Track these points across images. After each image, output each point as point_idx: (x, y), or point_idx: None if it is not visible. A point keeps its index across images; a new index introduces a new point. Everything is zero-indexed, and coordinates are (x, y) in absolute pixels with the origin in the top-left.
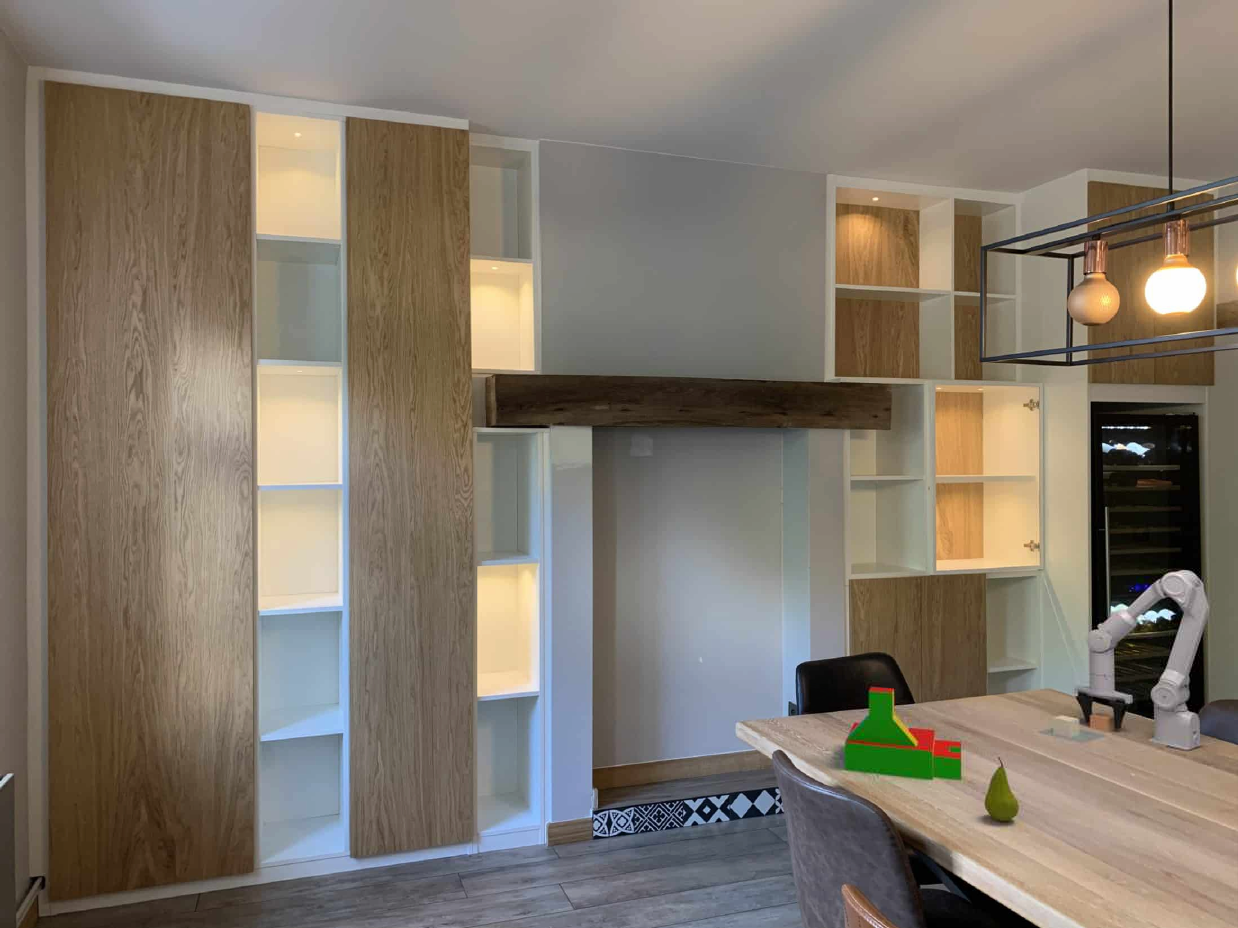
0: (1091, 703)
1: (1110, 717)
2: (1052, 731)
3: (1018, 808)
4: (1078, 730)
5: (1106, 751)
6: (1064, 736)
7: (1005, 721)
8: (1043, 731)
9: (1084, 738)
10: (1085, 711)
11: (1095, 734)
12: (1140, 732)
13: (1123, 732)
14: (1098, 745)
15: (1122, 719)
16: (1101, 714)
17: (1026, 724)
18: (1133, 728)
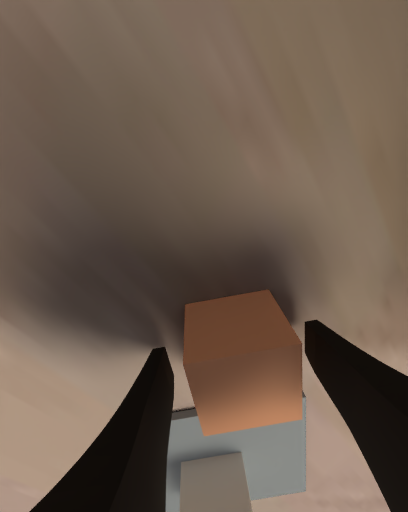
0: (138, 460)
1: (294, 383)
2: (178, 486)
3: None
4: (244, 471)
5: (371, 476)
6: None
7: (7, 501)
8: (167, 501)
9: (281, 466)
10: (165, 450)
11: None
12: (358, 198)
13: (303, 279)
14: (331, 460)
15: (356, 350)
16: (219, 375)
17: (58, 478)
18: (293, 149)
